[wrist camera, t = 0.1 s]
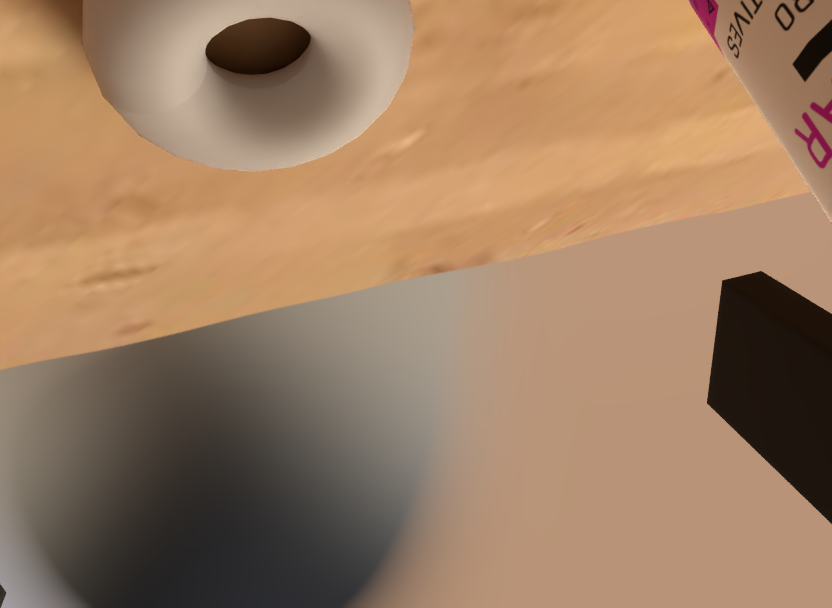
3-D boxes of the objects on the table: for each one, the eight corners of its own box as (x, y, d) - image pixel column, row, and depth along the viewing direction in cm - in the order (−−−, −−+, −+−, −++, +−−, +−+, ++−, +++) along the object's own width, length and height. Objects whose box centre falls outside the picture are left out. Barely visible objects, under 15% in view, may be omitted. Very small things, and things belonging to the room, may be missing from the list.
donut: (434, 44, 24) (316, -234, 15) (462, 114, 23) (349, -146, 14) (211, 152, 26) (-12, -38, 17) (224, 222, 25) (-9, 56, 16)
